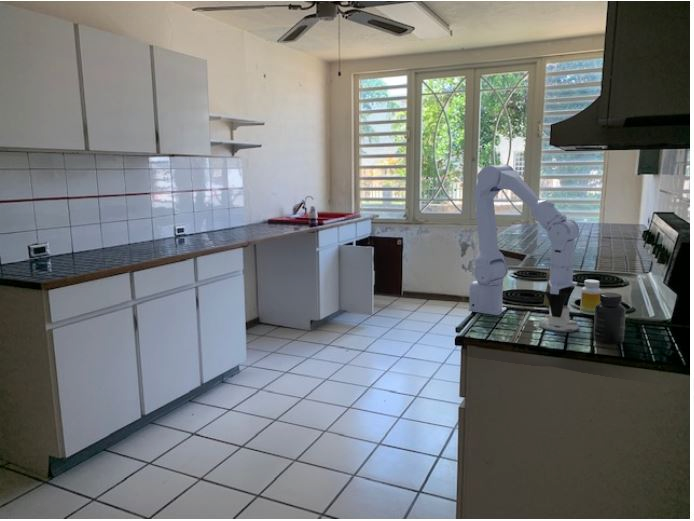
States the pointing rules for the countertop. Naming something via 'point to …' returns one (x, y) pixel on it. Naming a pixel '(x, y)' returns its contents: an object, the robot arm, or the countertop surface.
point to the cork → (546, 301)
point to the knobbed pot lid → (569, 327)
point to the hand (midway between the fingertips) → (558, 313)
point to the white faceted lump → (563, 319)
